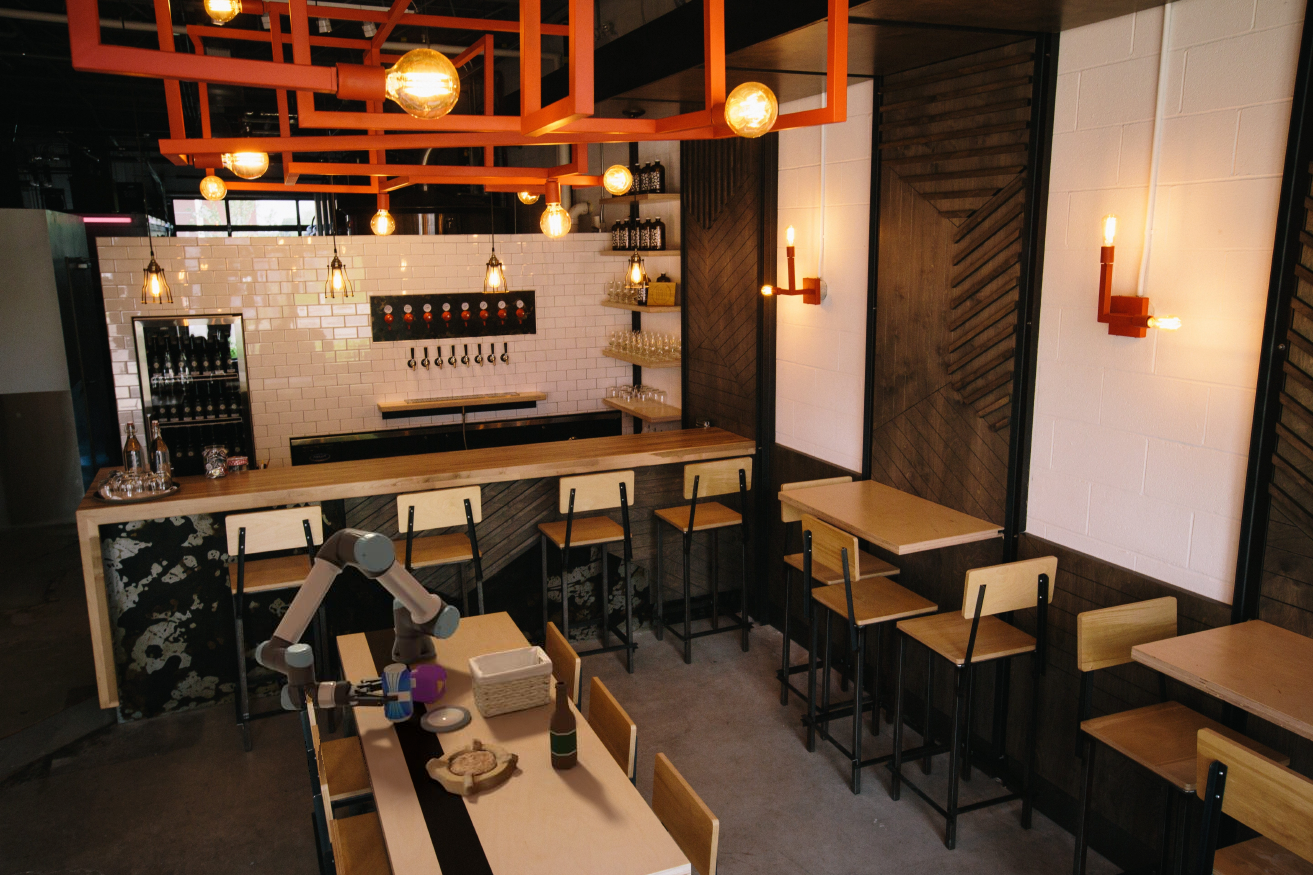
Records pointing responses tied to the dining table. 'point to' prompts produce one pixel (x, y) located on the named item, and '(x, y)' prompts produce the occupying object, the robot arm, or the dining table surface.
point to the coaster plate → (445, 719)
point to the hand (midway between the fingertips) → (412, 689)
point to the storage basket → (510, 680)
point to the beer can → (397, 681)
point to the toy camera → (428, 683)
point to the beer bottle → (563, 731)
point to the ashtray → (473, 768)
